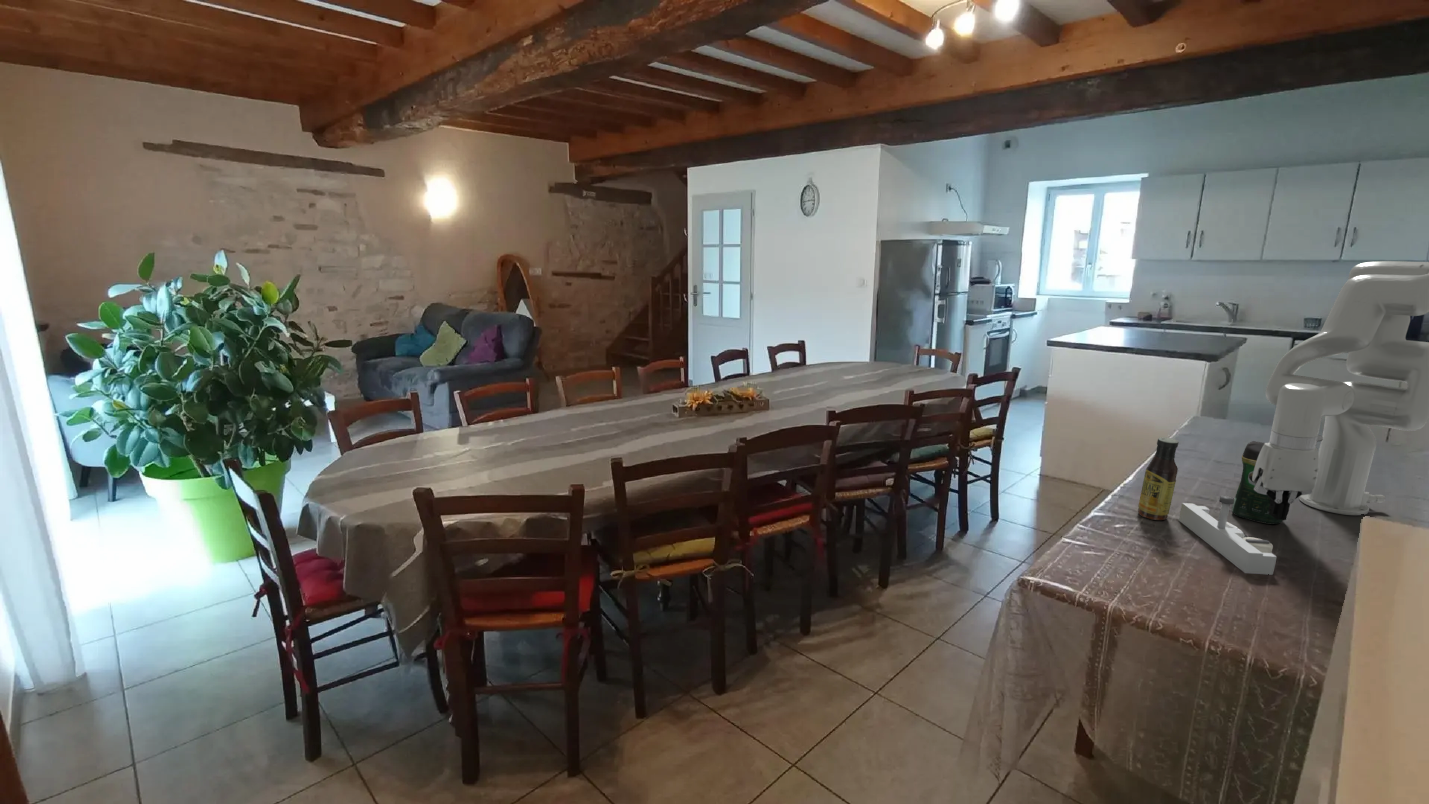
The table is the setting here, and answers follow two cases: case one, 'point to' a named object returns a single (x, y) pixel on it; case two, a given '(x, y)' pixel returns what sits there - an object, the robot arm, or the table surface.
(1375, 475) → the table surface
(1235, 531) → the mount
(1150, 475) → the sauce bottle
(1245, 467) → the coffee jar
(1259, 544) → the knob slider
